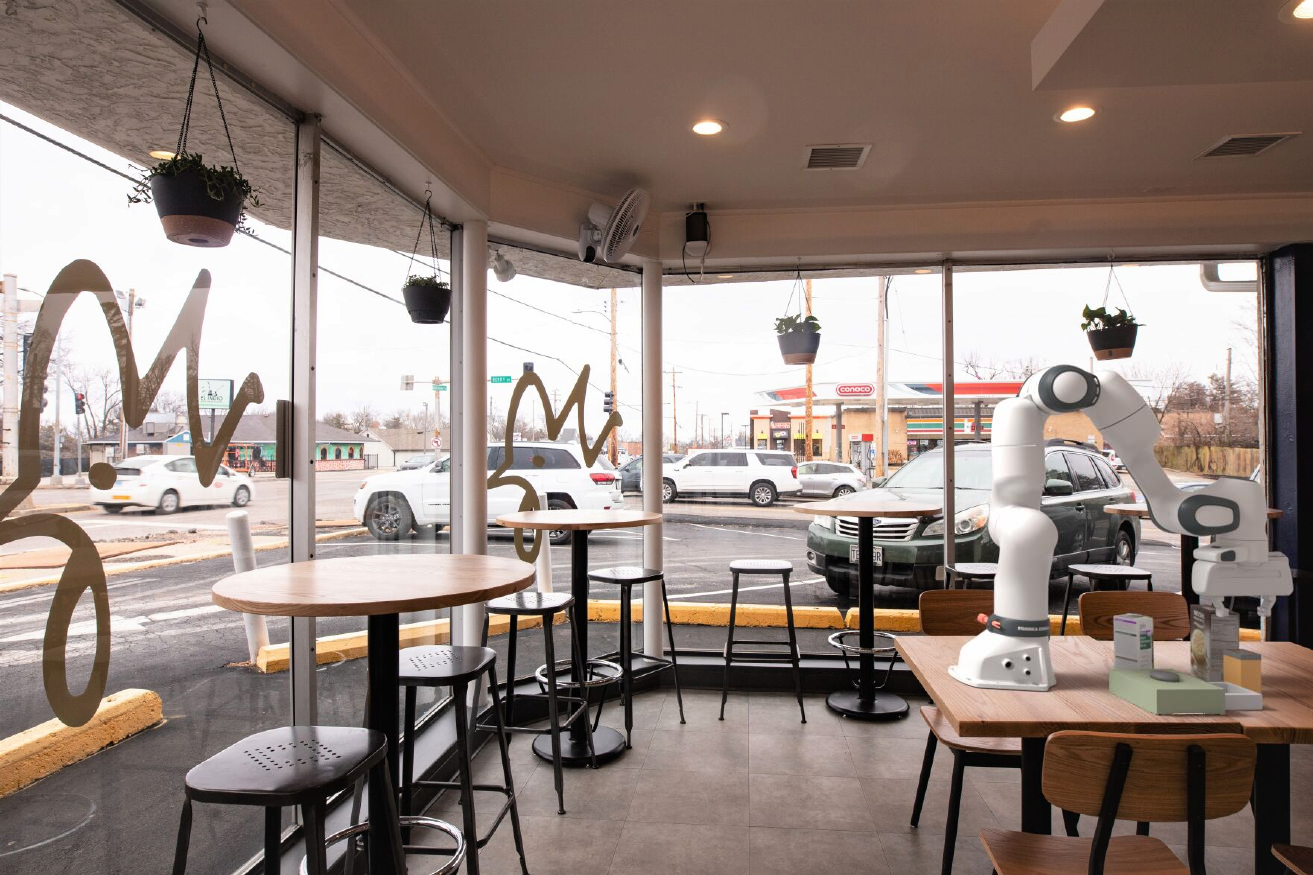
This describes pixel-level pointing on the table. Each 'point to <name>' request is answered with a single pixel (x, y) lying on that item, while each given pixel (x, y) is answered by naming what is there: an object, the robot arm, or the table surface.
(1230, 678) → the orange and grey block
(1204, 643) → the coffee box
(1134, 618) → the syrup box
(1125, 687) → the knobbed slab with frame
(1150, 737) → the table surface
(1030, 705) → the table surface
